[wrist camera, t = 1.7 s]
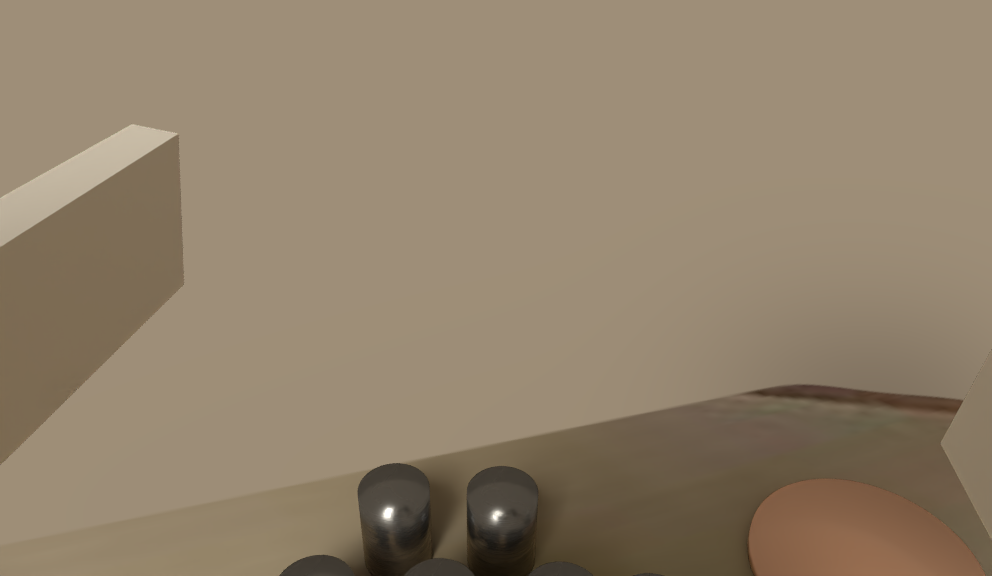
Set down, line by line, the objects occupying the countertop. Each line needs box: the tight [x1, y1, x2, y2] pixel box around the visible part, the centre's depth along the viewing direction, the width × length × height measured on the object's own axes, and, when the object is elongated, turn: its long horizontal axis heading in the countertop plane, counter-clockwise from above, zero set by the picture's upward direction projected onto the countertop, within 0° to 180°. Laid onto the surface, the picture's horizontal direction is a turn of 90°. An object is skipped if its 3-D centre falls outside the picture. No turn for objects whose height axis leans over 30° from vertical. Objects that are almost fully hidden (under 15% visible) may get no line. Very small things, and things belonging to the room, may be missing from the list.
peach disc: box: [747, 479, 986, 576], centre depth 43 cm, size 12×12×1 cm
